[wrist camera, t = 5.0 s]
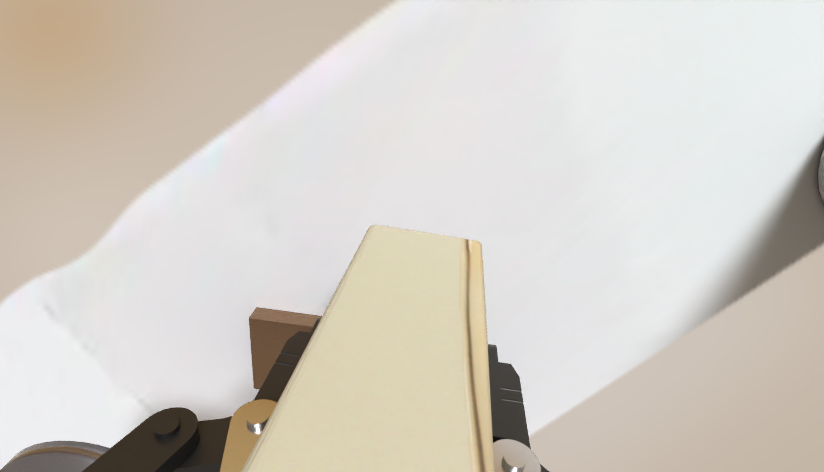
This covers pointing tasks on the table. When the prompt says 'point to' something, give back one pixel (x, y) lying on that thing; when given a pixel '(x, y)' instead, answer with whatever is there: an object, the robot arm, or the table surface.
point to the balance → (65, 460)
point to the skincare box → (391, 367)
